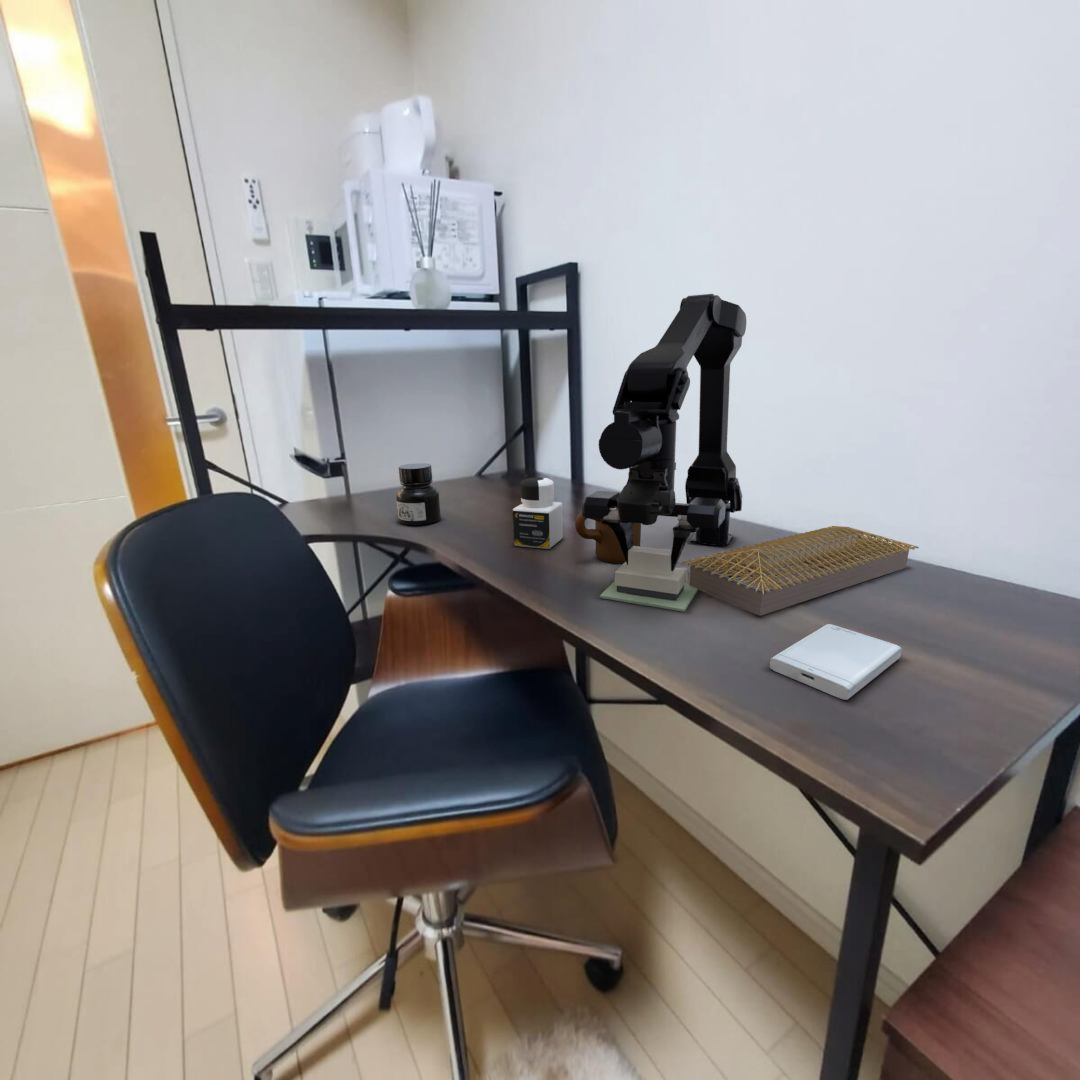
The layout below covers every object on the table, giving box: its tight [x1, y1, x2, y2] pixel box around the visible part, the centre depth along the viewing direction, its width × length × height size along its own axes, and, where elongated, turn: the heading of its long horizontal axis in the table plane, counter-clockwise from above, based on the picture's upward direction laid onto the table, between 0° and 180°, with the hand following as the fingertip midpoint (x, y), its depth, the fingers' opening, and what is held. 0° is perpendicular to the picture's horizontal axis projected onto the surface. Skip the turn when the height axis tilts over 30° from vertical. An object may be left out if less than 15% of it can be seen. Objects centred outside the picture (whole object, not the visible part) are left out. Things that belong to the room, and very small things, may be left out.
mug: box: [574, 511, 642, 564], centre depth 96 cm, size 12×8×9 cm, turn 117°
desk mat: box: [599, 580, 700, 613], centre depth 82 cm, size 9×12×1 cm
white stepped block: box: [614, 545, 688, 600], centre depth 81 cm, size 5×9×6 cm, turn 64°
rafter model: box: [681, 525, 920, 616], centre depth 86 cm, size 35×14×6 cm, turn 120°
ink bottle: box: [395, 462, 442, 526], centre depth 122 cm, size 10×9×12 cm
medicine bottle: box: [512, 476, 564, 550], centre depth 105 cm, size 7×7×12 cm
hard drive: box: [769, 623, 902, 701], centre depth 62 cm, size 2×8×12 cm
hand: (650, 567), depth 81 cm, fingers closed on white stepped block, 6 cm apart
